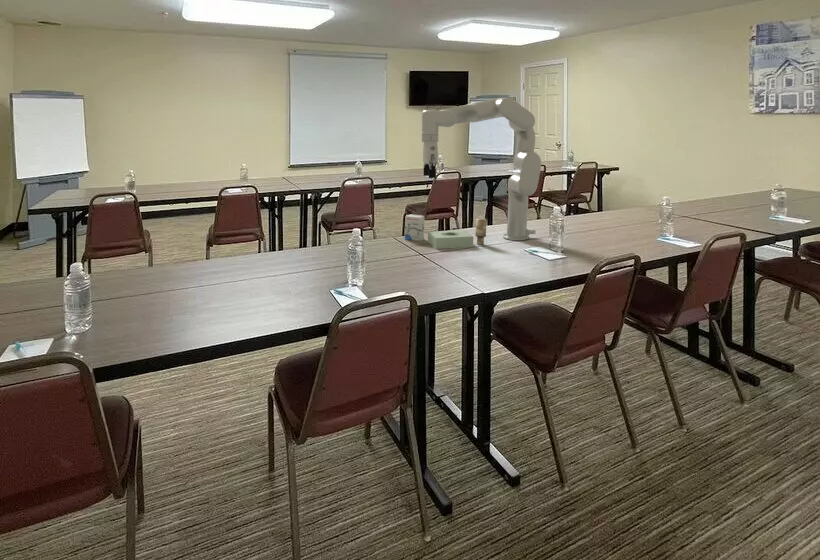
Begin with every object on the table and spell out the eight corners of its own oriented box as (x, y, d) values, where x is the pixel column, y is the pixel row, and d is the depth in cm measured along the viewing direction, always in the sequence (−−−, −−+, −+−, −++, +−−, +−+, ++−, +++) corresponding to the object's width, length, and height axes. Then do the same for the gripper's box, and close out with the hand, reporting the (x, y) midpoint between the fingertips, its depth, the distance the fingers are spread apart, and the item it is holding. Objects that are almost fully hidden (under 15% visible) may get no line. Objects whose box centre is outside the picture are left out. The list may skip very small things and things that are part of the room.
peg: (483, 242, 261) (484, 218, 258) (487, 245, 257) (488, 220, 253) (473, 243, 260) (474, 218, 257) (477, 245, 256) (478, 220, 252)
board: (463, 240, 267) (463, 230, 265) (473, 246, 254) (473, 236, 252) (427, 241, 263) (428, 231, 262) (435, 248, 250) (435, 238, 249)
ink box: (404, 239, 268) (404, 215, 265) (409, 237, 273) (409, 214, 269) (420, 241, 265) (420, 217, 261) (424, 239, 269) (424, 215, 265)
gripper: (443, 139, 241) (442, 178, 246) (433, 137, 257) (432, 174, 262) (426, 139, 239) (426, 179, 244) (417, 137, 255) (417, 174, 260)
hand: (429, 176), depth 253 cm, fingers open, 9 cm apart
